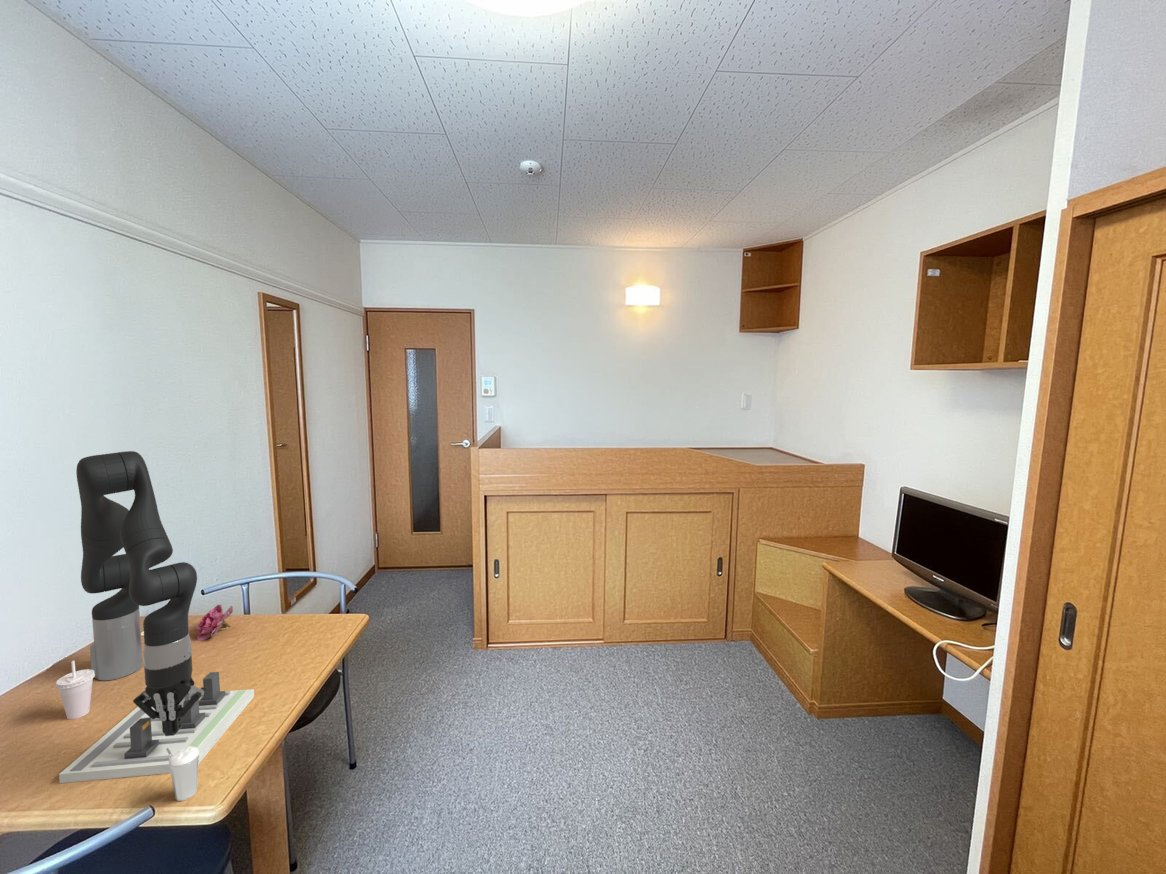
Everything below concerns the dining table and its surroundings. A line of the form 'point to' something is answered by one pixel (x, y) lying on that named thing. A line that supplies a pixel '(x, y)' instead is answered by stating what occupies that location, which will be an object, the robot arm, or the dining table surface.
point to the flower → (213, 622)
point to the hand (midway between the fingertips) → (172, 733)
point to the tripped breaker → (141, 739)
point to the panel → (161, 737)
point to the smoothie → (76, 692)
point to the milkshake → (184, 772)
